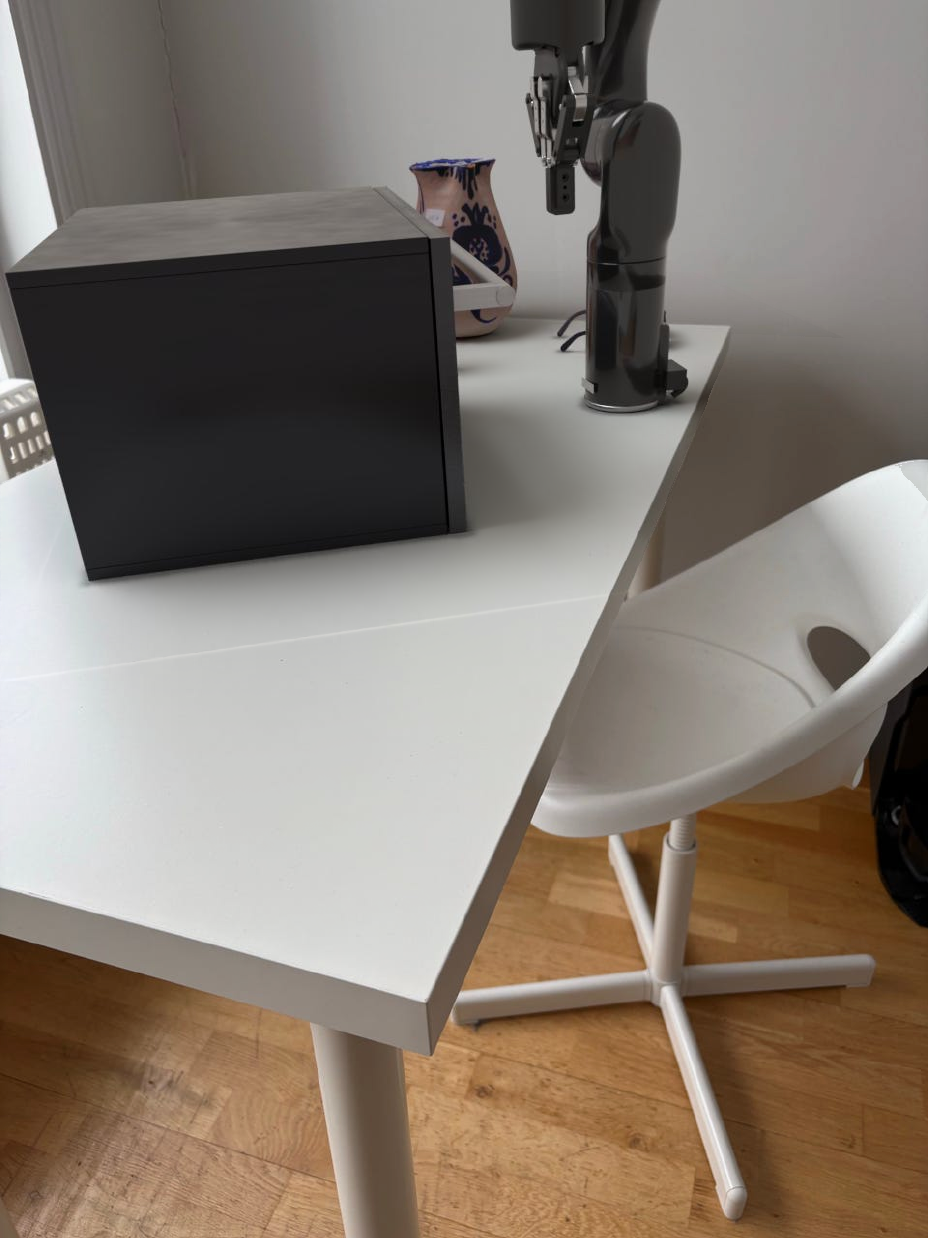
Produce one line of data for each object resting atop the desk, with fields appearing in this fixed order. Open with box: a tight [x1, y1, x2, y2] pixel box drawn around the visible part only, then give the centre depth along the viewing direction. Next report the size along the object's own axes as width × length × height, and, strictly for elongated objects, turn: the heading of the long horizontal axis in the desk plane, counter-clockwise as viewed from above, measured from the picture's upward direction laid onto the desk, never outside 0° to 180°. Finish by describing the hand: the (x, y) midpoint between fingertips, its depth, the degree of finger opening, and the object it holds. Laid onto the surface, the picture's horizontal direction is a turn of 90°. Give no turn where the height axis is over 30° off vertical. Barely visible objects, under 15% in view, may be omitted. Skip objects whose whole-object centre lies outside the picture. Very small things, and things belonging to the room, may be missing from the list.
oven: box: [4, 185, 448, 582], centre depth 99 cm, size 32×40×26 cm
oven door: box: [372, 186, 517, 534], centre depth 101 cm, size 8×40×26 cm, turn 11°
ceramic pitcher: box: [408, 157, 518, 338], centre depth 152 cm, size 18×21×25 cm
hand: (560, 213), depth 86 cm, fingers closed
